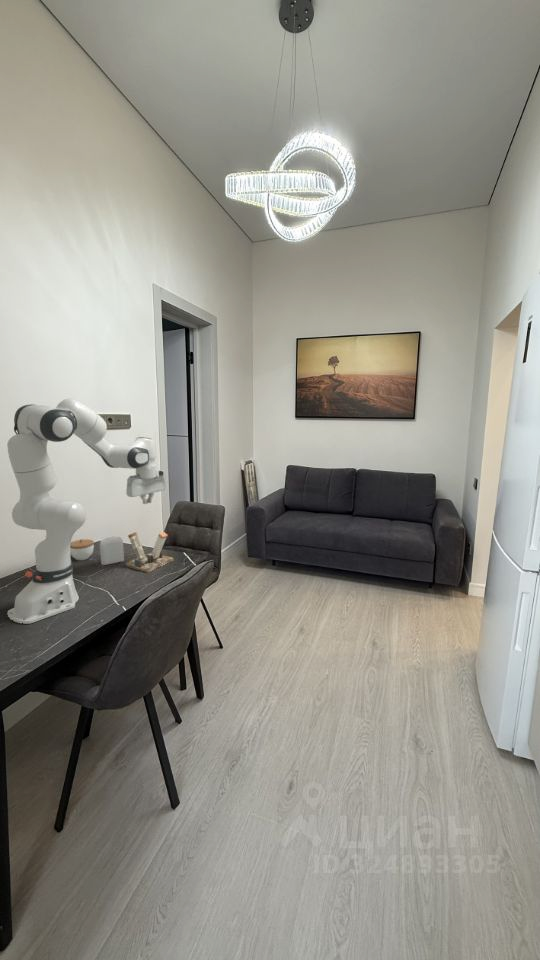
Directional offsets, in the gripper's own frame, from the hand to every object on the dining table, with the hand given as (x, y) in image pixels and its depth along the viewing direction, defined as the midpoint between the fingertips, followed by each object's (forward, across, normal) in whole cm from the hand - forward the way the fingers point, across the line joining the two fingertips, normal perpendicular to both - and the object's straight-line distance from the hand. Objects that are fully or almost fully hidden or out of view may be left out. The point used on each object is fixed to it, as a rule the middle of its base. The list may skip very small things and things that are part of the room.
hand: (147, 503), depth 173 cm
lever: (+27, +2, 0) cm, 27 cm away
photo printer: (+29, -8, +16) cm, 34 cm away
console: (+29, 0, 0) cm, 29 cm away
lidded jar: (+29, -12, +33) cm, 46 cm away
